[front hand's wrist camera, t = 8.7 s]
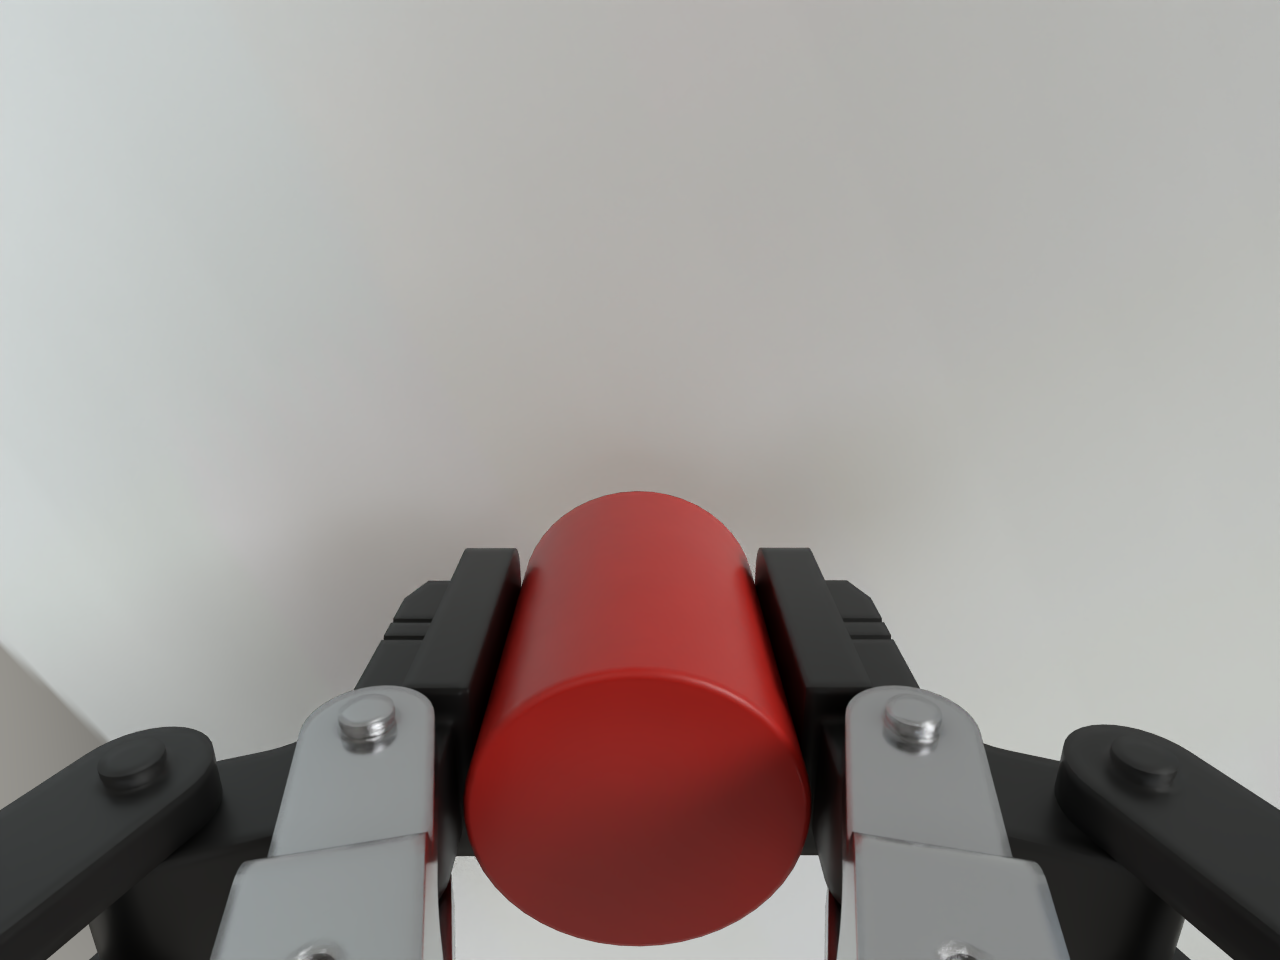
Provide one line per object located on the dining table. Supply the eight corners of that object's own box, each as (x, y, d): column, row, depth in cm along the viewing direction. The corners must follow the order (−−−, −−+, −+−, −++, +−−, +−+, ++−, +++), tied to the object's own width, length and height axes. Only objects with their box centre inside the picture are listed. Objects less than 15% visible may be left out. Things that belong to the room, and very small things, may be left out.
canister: (504, 667, 13) (435, 917, 9) (549, 464, 12) (495, 636, 7) (717, 711, 13) (755, 975, 9) (782, 519, 12) (863, 714, 8)
